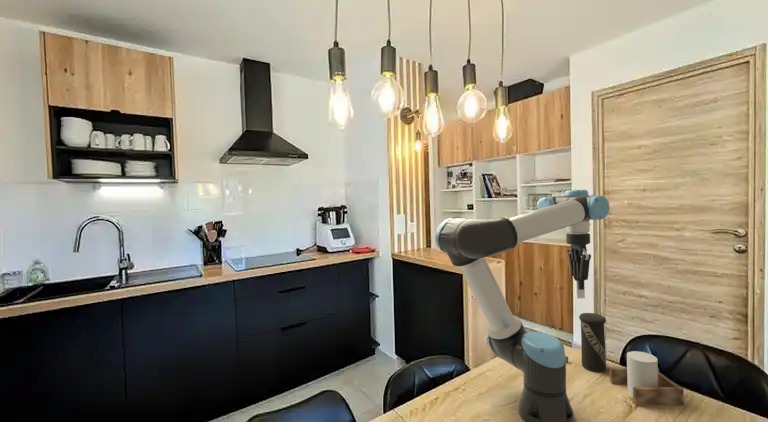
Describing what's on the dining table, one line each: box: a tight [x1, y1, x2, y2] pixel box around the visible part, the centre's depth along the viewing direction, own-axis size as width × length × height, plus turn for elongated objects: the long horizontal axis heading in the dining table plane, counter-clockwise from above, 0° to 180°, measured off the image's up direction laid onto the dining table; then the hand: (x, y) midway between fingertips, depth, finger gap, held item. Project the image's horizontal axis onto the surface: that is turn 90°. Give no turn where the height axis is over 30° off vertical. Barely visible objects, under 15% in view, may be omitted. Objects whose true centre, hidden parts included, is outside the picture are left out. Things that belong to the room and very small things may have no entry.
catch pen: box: [609, 367, 685, 406], centre depth 115 cm, size 14×14×5 cm
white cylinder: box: [626, 350, 659, 396], centre depth 115 cm, size 8×8×12 cm
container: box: [578, 312, 607, 373], centre depth 134 cm, size 9×9×20 cm
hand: (579, 297), depth 128 cm, fingers closed
